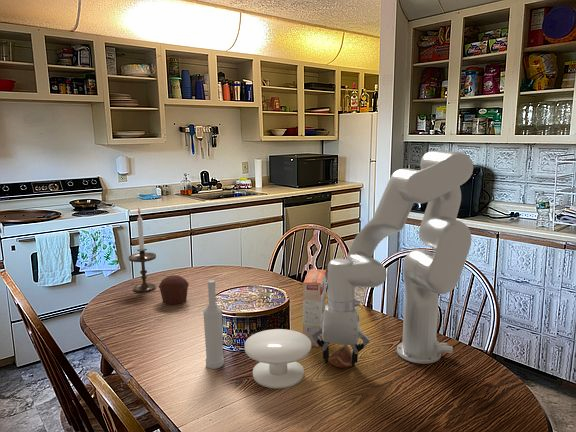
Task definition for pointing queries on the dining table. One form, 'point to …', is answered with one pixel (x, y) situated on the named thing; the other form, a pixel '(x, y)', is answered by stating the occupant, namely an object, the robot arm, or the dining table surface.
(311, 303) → the cracker box
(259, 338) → the cake stand
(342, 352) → the fruit slice
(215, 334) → the bottle
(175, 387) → the dining table surface
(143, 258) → the candlestick
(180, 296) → the muffin
